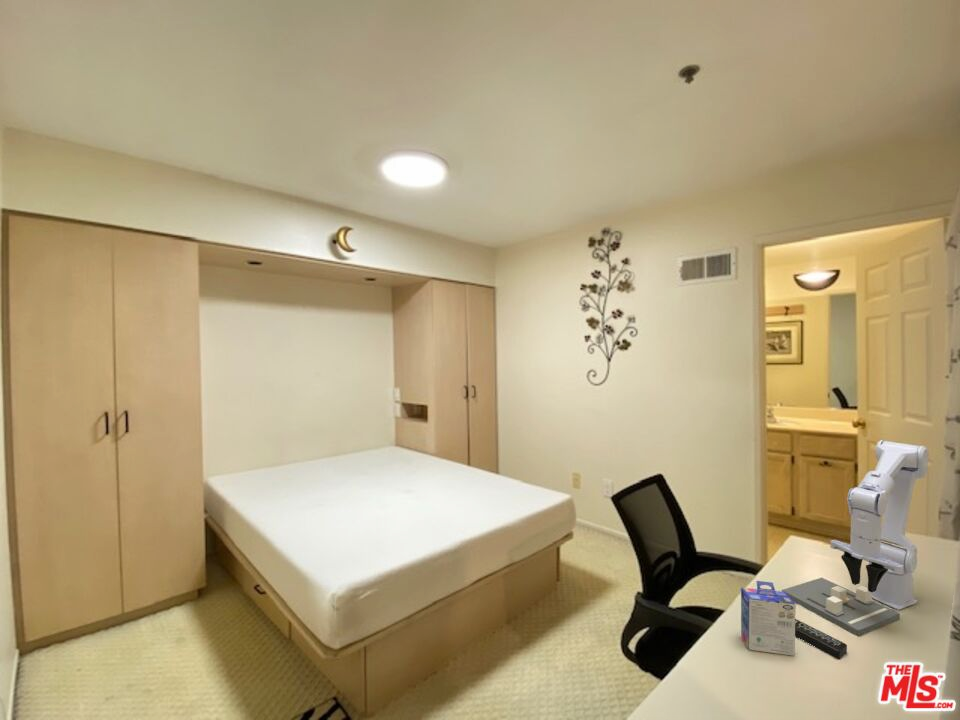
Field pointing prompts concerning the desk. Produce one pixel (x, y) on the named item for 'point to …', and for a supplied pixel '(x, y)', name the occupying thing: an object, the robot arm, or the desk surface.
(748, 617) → the ink cartridge box
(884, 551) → the robot arm
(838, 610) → the block
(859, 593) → the breaker handle
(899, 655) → the desk surface
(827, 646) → the multiport hub
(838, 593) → the block
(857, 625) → the panel
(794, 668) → the desk surface
